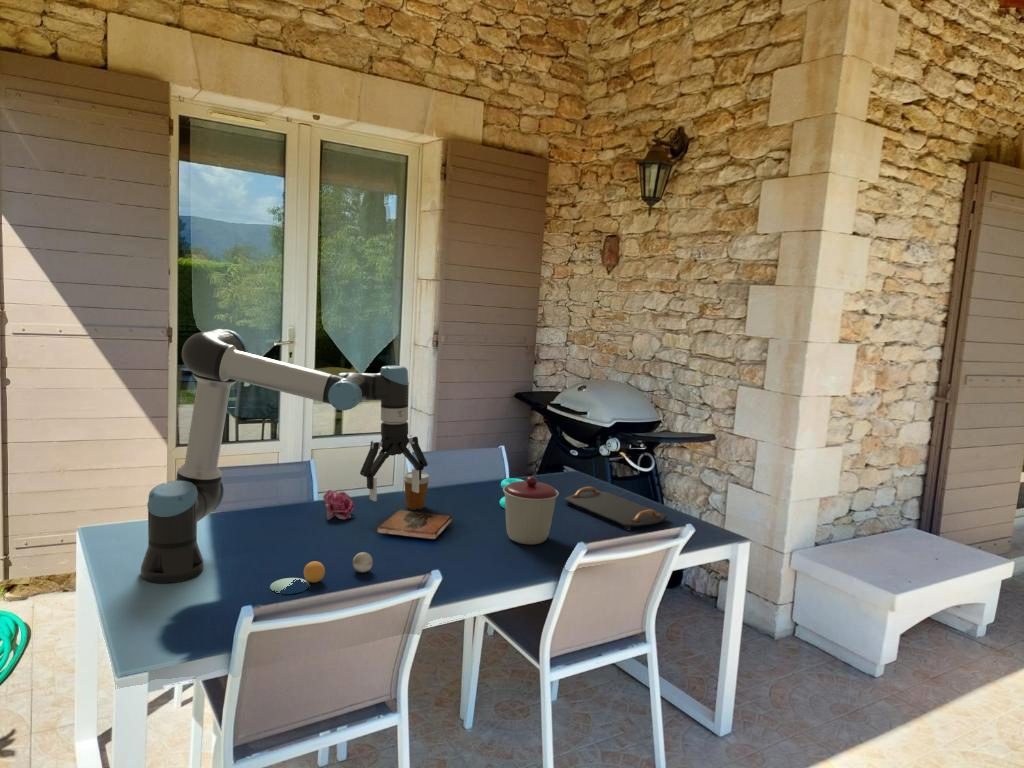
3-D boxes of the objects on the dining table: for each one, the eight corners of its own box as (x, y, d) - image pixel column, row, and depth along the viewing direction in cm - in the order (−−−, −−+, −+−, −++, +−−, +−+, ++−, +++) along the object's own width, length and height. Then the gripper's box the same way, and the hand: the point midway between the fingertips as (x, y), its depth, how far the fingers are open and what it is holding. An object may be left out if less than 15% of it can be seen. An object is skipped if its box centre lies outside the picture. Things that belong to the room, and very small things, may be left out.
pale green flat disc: (264, 583, 188) (264, 582, 188) (301, 575, 194) (301, 575, 194) (277, 598, 180) (277, 597, 180) (315, 589, 186) (315, 589, 186)
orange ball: (300, 579, 191) (300, 560, 190) (319, 575, 194) (320, 556, 194) (307, 587, 187) (308, 567, 186) (327, 583, 190) (328, 563, 189)
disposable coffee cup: (415, 501, 264) (417, 469, 263) (433, 507, 258) (435, 475, 257) (396, 506, 257) (397, 474, 255) (414, 513, 251) (416, 480, 249)
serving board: (674, 525, 260) (676, 508, 259) (630, 535, 245) (632, 518, 244) (598, 495, 290) (600, 481, 289) (556, 503, 275) (557, 488, 274)
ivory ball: (348, 569, 200) (349, 551, 199) (367, 566, 203) (367, 547, 202) (357, 577, 195) (358, 558, 195) (375, 573, 199) (376, 554, 198)
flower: (355, 525, 244) (357, 508, 237) (326, 530, 240) (327, 512, 234) (350, 499, 251) (352, 481, 245) (321, 502, 248) (322, 485, 241)
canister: (529, 554, 221) (534, 488, 218) (488, 537, 233) (492, 474, 230) (565, 541, 234) (571, 479, 231) (524, 525, 246) (529, 466, 243)
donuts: (499, 477, 268) (525, 477, 270) (497, 502, 270) (523, 503, 272) (503, 484, 259) (530, 485, 260) (501, 511, 260) (528, 511, 262)
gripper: (360, 429, 187) (360, 507, 190) (439, 419, 203) (439, 491, 206) (347, 424, 193) (348, 500, 196) (425, 415, 209) (425, 485, 212)
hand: (394, 495), depth 201 cm, fingers open, 13 cm apart
